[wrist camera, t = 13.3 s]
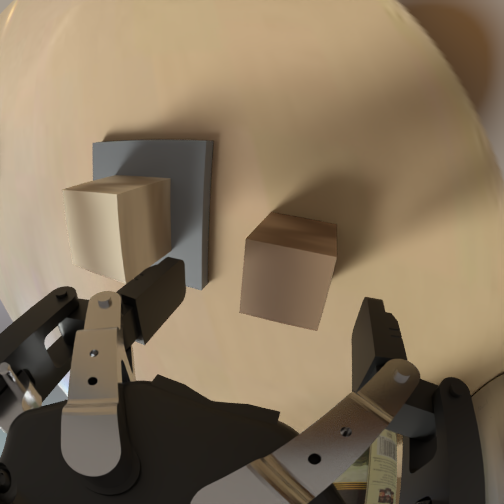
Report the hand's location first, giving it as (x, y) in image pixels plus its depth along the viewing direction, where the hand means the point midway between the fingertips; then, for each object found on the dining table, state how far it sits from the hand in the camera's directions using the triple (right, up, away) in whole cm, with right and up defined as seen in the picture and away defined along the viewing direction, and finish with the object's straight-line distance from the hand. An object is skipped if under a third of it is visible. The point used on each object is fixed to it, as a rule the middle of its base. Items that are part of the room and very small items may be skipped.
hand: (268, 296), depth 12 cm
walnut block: (+2, +2, +5) cm, 6 cm away
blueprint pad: (-8, +5, +7) cm, 12 cm away
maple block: (-8, +5, +6) cm, 11 cm away
